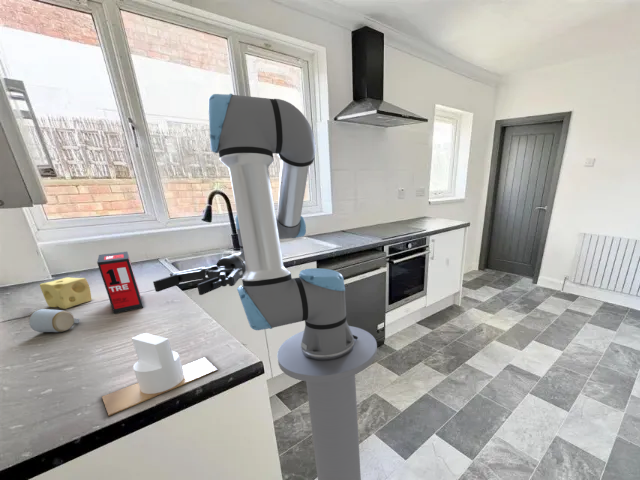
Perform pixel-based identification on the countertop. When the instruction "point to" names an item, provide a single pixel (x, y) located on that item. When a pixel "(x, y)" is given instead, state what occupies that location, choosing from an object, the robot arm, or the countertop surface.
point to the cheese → (66, 292)
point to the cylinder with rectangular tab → (156, 364)
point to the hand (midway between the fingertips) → (176, 288)
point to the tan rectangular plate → (135, 396)
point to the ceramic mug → (51, 320)
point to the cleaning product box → (119, 281)
